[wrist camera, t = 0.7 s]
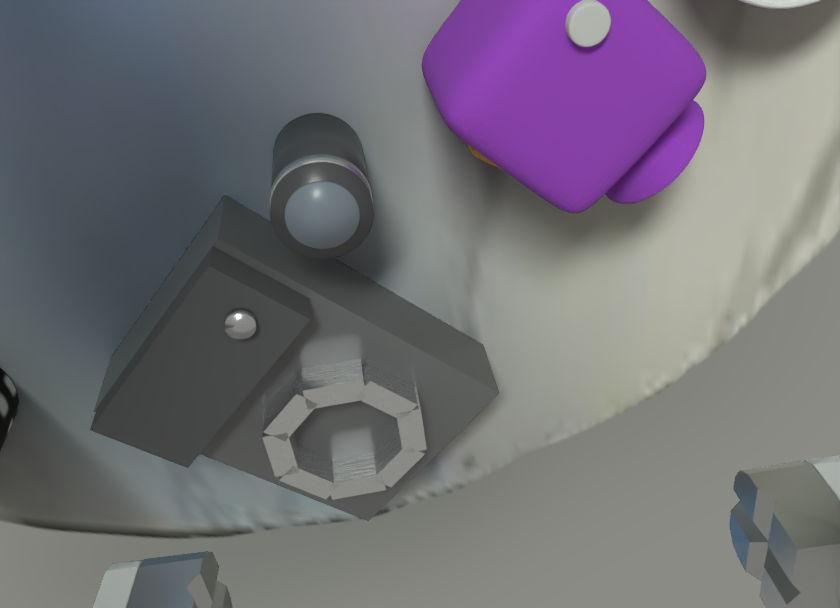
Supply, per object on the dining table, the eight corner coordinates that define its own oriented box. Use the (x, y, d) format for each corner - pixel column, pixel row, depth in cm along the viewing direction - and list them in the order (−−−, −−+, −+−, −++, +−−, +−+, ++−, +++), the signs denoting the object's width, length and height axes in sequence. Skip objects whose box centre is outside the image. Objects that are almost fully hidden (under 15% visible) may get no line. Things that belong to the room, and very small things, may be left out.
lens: (254, 166, 42) (248, 228, 36) (305, 94, 40) (307, 147, 34) (330, 212, 44) (335, 278, 38) (381, 146, 42) (395, 204, 36)
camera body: (110, 357, 48) (83, 443, 42) (224, 195, 43) (213, 265, 36) (362, 468, 57) (371, 551, 51) (483, 344, 52) (508, 421, 45)
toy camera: (595, 185, 46) (660, 273, 38) (395, 94, 41) (420, 172, 33) (706, 19, 41) (809, 79, 33) (494, -108, 36) (553, -75, 28)
